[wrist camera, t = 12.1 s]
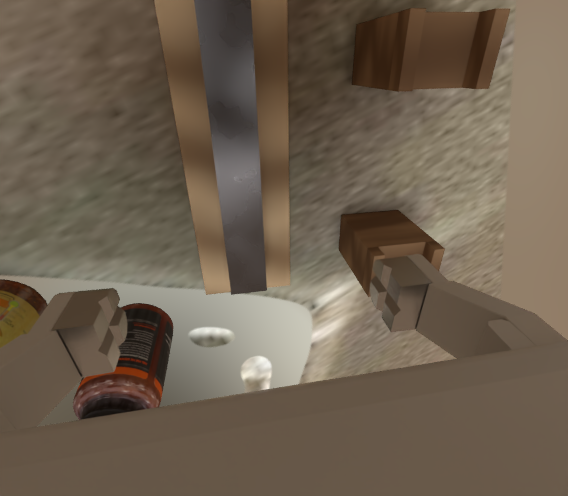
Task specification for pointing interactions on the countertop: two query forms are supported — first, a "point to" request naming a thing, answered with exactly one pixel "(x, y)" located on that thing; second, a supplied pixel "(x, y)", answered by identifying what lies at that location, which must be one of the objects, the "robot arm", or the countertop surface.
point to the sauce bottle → (18, 309)
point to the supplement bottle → (131, 368)
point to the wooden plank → (198, 143)
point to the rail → (234, 135)
